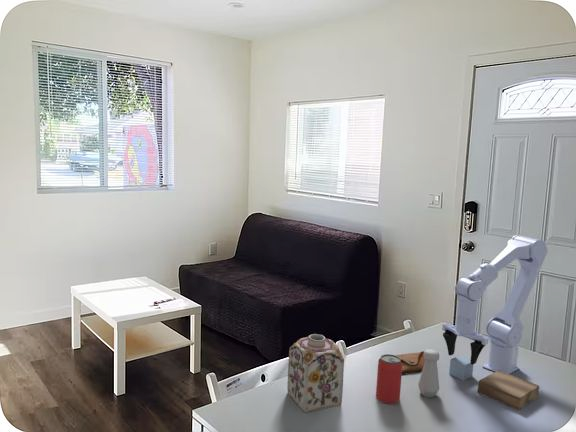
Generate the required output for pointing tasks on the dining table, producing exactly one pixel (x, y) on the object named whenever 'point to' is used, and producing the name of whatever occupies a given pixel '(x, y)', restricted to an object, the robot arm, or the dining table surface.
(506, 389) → the wooden block
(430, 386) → the salt shaker
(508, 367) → the robot arm
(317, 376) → the decorative jar
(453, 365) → the blue cube
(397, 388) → the beer can
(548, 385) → the dining table surface
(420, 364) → the sunglasses case
